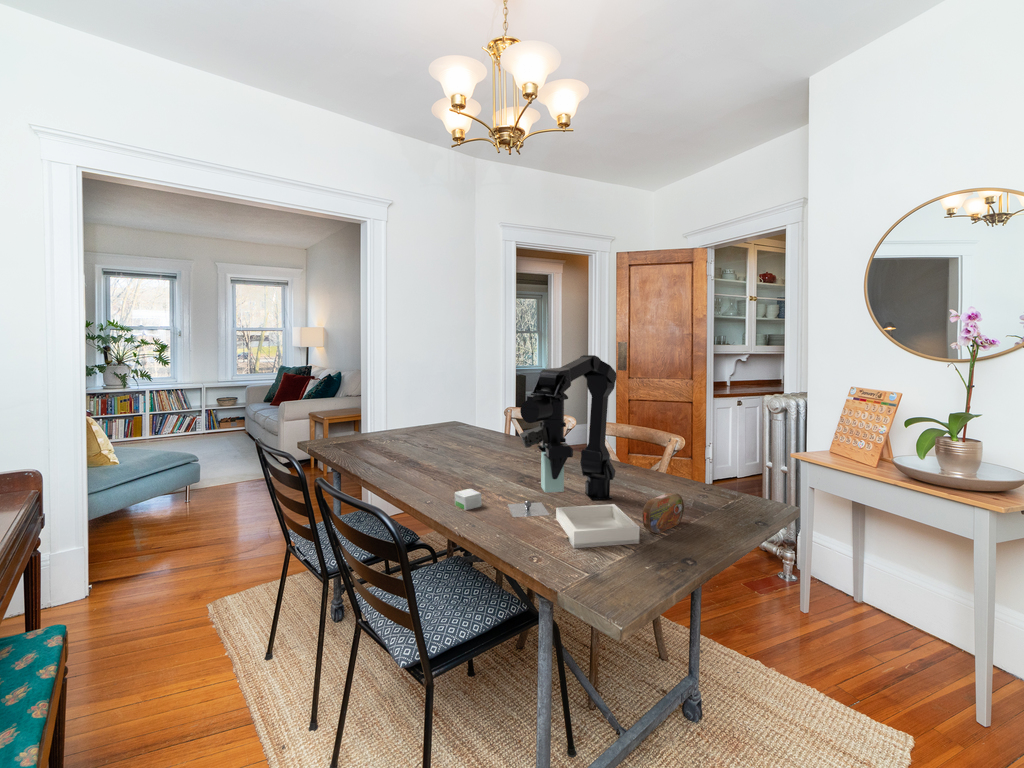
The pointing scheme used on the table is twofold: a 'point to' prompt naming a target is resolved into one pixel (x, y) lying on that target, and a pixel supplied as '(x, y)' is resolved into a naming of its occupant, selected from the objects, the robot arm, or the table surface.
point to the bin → (597, 526)
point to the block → (550, 477)
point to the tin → (663, 512)
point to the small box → (468, 499)
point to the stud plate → (527, 509)
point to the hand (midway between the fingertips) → (552, 476)
